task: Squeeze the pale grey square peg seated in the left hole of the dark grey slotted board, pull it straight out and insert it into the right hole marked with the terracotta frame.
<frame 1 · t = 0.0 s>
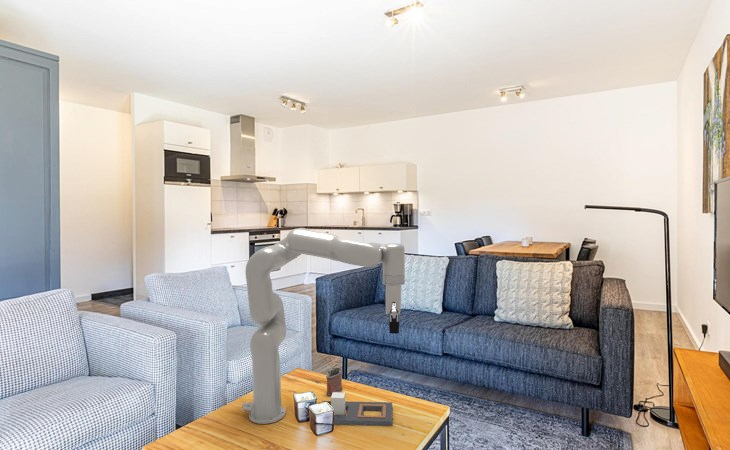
hand: (394, 329, 143), 31 cm above the table, fingers open, 9 cm apart
reddish brown rectangular container: (334, 392, 165), on the table
dark grey slotted board: (355, 414, 147), on the table
peg: (338, 414, 147), resting in dark grey slotted board
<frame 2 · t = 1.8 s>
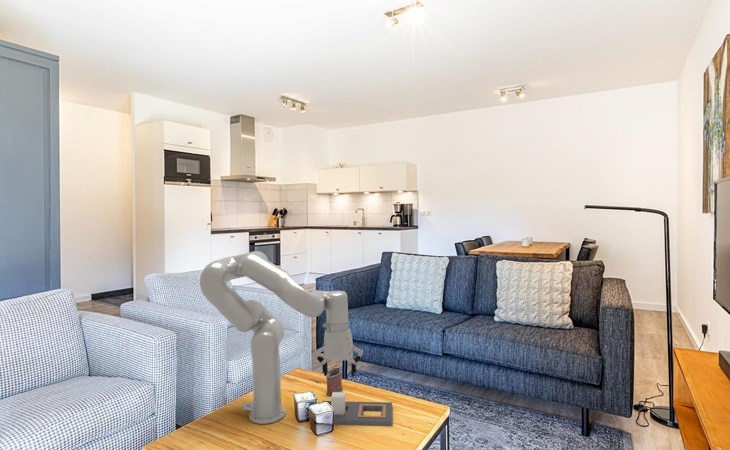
hand: (339, 374, 147), 14 cm above the table, fingers open, 9 cm apart
nothing on the table moved.
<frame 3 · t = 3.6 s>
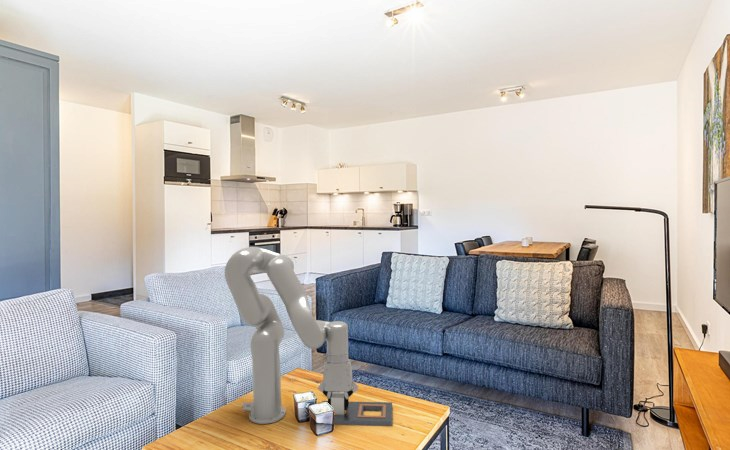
hand: (338, 407, 147), 2 cm above the table, fingers closed on peg, 4 cm apart
peg: (338, 414, 147), resting in dark grey slotted board, touching gripper
everything else where it was.
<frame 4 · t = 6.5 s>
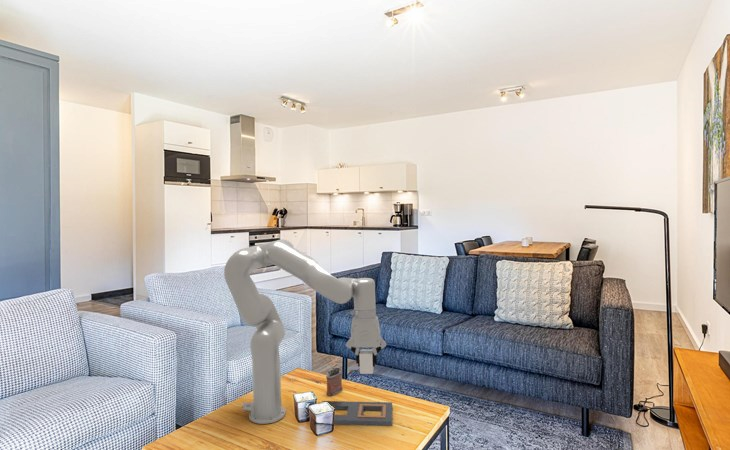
hand: (366, 364, 146), 18 cm above the table, fingers closed on peg, 4 cm apart
peg: (366, 371, 146), point 16 cm above the table, touching gripper
everything else where it was.
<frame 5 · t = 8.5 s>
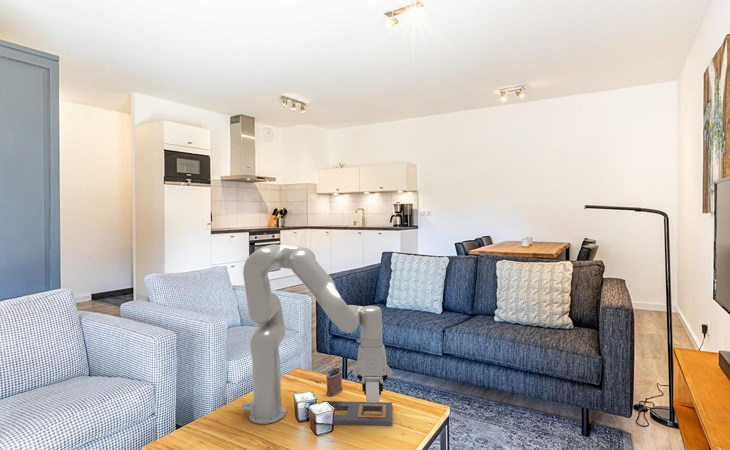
hand: (372, 392, 146), 8 cm above the table, fingers closed on peg, 4 cm apart
peg: (373, 399, 146), point 6 cm above the table, touching gripper
everything else where it was.
when the fingers open (3 cm above the table, at t = 9.8 s): peg drops 1 cm, resting in dark grey slotted board.
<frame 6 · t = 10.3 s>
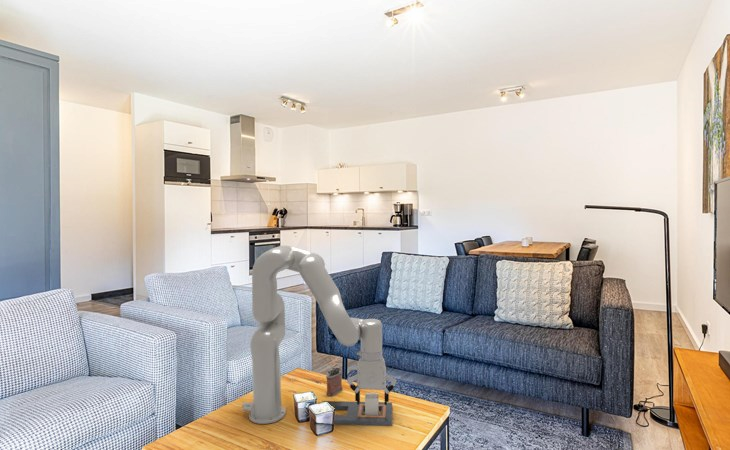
hand: (372, 403, 146), 4 cm above the table, fingers open, 9 cm apart
peg: (372, 415, 146), resting in dark grey slotted board
everything else where it was.
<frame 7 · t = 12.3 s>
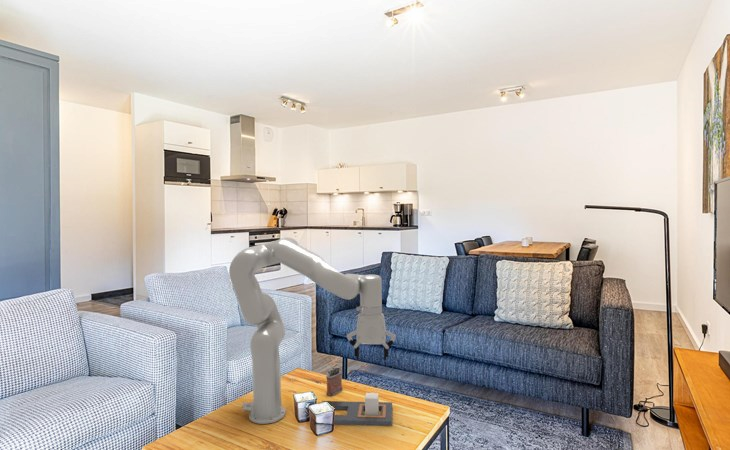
hand: (371, 358, 146), 20 cm above the table, fingers open, 9 cm apart
nothing on the table moved.
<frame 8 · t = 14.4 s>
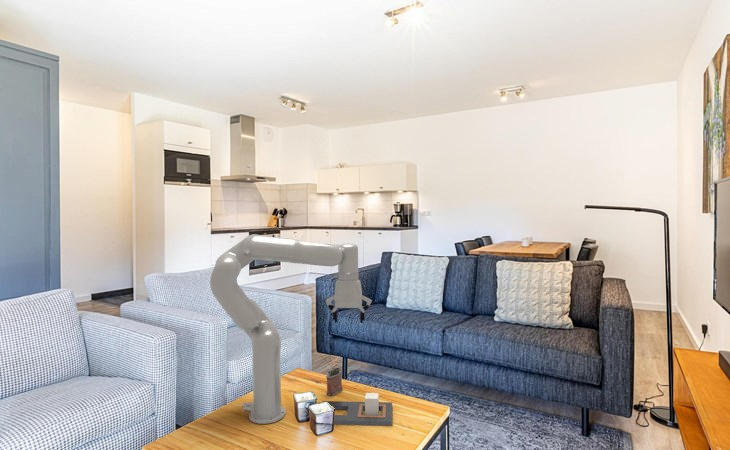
hand: (348, 322, 156), 30 cm above the table, fingers open, 9 cm apart
nothing on the table moved.
at the end: peg 0.1 cm from the target spot on the dark grey slotted board, point 0.0 cm above the dark grey slotted board's base; peg tilted 0°; the gripper is holding nothing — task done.
